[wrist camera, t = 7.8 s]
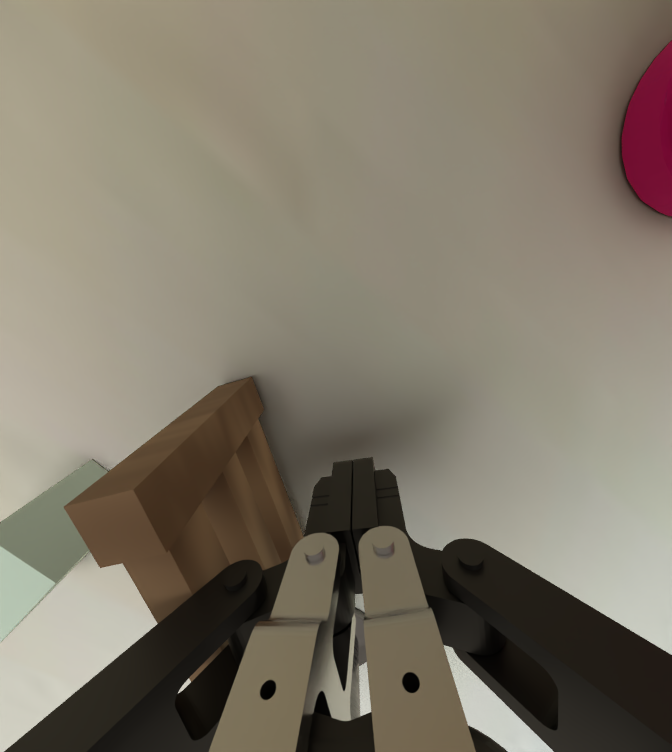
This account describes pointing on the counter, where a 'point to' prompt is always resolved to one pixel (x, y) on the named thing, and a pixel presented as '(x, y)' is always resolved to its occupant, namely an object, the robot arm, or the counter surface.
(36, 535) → the block
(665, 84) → the pepper mill
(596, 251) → the counter surface
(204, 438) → the gate
